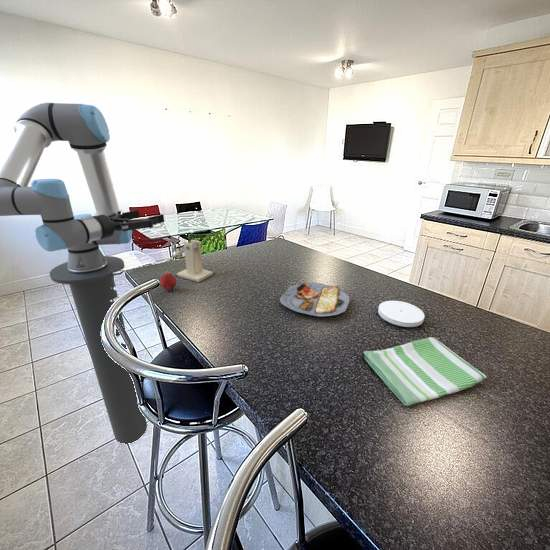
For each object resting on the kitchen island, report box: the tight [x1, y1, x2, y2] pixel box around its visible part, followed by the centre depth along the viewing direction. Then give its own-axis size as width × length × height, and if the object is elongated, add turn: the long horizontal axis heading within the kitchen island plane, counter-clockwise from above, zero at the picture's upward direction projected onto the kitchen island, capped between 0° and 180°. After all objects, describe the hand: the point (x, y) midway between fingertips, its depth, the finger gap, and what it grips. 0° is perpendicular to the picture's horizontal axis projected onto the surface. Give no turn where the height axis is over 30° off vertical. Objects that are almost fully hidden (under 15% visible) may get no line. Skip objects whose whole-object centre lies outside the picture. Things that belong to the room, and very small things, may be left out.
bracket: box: [176, 239, 214, 283], centre depth 121 cm, size 12×9×15 cm
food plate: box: [279, 282, 351, 317], centre depth 104 cm, size 25×23×4 cm
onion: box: [159, 271, 177, 292], centre depth 109 cm, size 6×6×8 cm
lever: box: [172, 242, 197, 260], centre depth 122 cm, size 14×4×4 cm, turn 61°
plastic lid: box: [377, 300, 425, 328], centre depth 96 cm, size 14×14×2 cm
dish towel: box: [362, 336, 487, 407], centre depth 73 cm, size 18×23×3 cm
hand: (150, 215), depth 110 cm, fingers open, 13 cm apart
